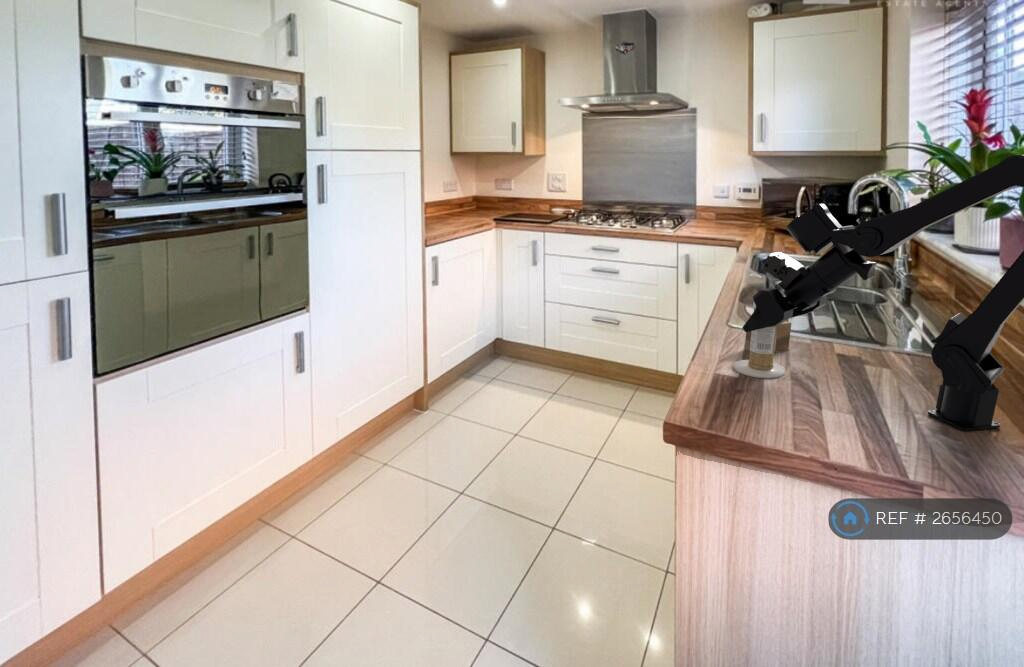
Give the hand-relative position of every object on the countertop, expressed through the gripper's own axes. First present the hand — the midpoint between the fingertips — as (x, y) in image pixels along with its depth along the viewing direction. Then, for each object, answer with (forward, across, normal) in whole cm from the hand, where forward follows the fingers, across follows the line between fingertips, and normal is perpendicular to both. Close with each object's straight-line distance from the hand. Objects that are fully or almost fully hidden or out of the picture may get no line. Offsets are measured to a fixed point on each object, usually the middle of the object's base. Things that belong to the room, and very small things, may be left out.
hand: (756, 325), depth 110 cm
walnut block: (+9, -13, +4) cm, 16 cm away
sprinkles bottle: (+5, 0, +7) cm, 8 cm away
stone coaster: (+5, 0, +7) cm, 9 cm away
